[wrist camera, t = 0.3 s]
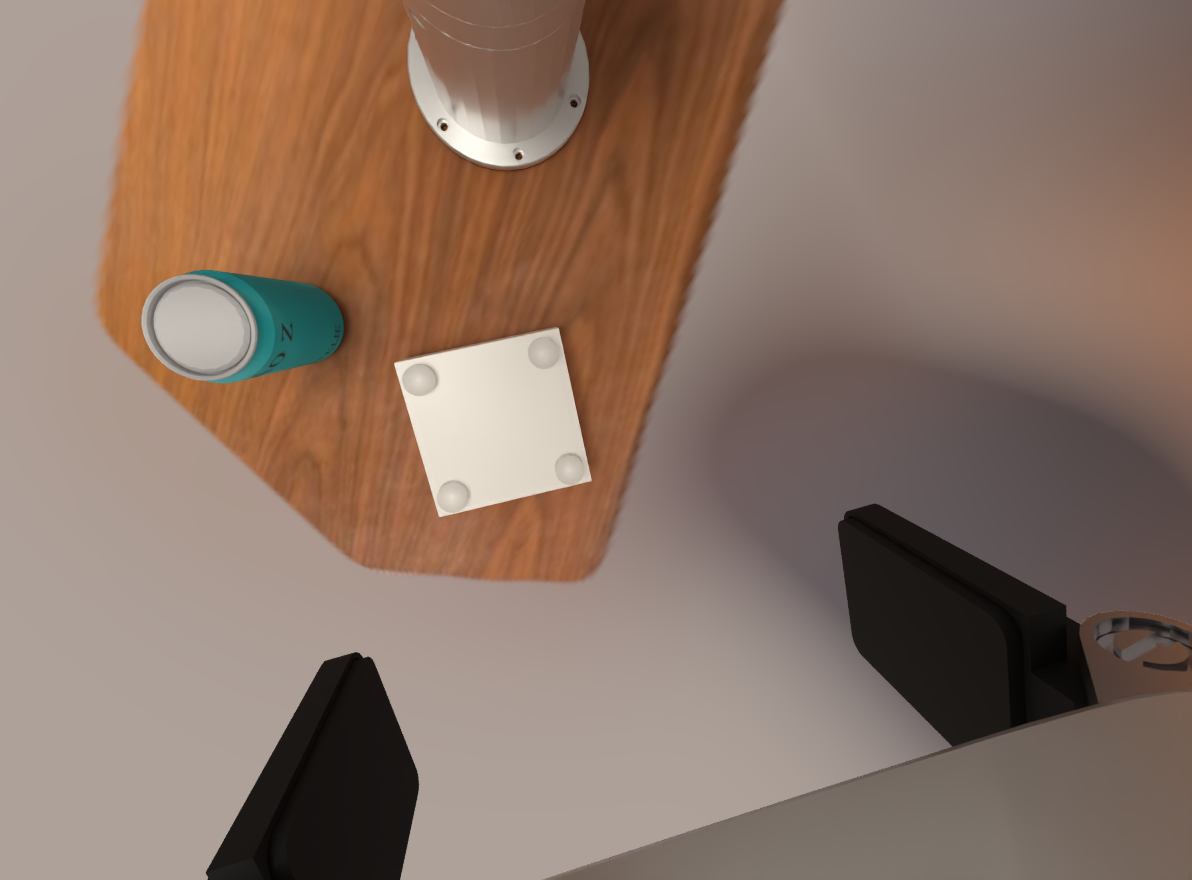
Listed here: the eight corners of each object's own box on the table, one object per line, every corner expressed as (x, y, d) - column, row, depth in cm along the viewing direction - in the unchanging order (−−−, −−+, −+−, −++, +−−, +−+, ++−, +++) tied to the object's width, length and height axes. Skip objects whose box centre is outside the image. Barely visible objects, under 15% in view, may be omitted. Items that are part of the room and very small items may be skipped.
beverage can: (256, 336, 41) (113, 349, 27) (290, 268, 40) (162, 243, 26) (330, 375, 42) (232, 407, 28) (364, 309, 42) (281, 308, 27)
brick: (405, 358, 43) (390, 364, 38) (555, 326, 44) (559, 328, 39) (446, 500, 46) (437, 521, 41) (585, 467, 47) (593, 484, 42)
